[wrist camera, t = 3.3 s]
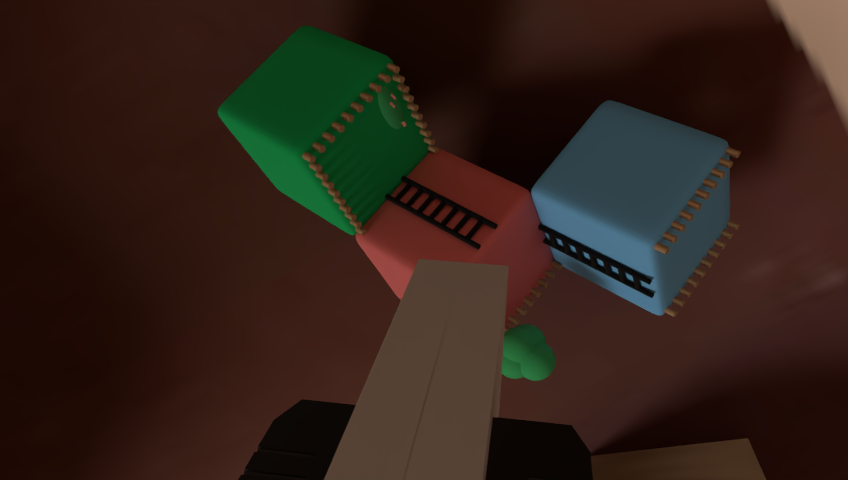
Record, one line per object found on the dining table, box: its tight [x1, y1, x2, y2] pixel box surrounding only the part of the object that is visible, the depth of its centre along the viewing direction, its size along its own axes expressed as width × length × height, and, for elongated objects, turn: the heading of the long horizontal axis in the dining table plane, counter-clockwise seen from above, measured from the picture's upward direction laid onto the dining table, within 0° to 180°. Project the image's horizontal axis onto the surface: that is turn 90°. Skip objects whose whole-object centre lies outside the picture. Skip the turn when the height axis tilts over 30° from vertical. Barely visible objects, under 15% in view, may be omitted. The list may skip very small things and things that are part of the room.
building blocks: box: [218, 26, 741, 381], centre depth 22 cm, size 8×8×12 cm
